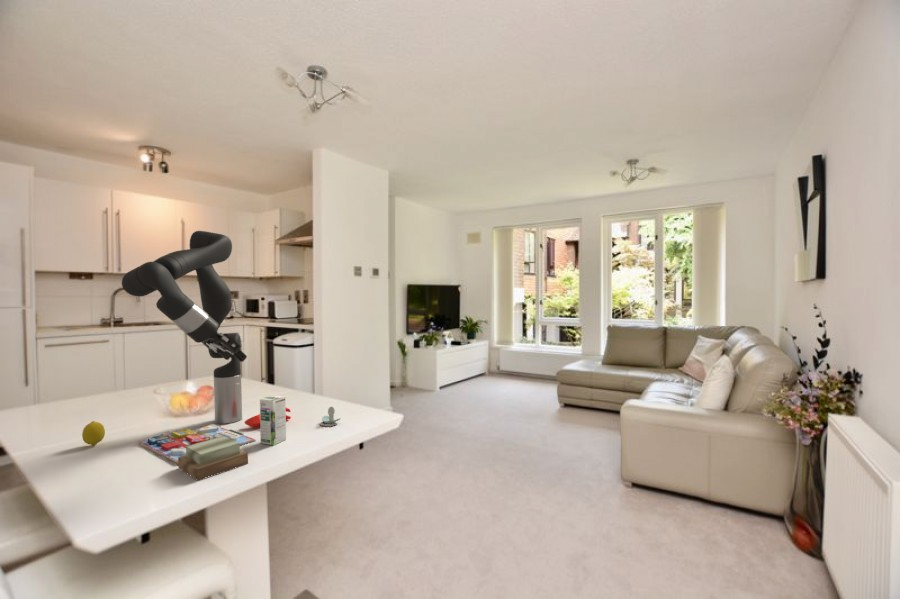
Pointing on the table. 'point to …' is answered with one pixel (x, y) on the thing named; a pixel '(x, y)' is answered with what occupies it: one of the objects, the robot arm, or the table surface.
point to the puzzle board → (189, 440)
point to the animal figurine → (255, 420)
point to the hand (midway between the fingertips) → (236, 358)
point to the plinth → (211, 466)
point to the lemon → (93, 433)
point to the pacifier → (329, 418)
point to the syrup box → (272, 420)
